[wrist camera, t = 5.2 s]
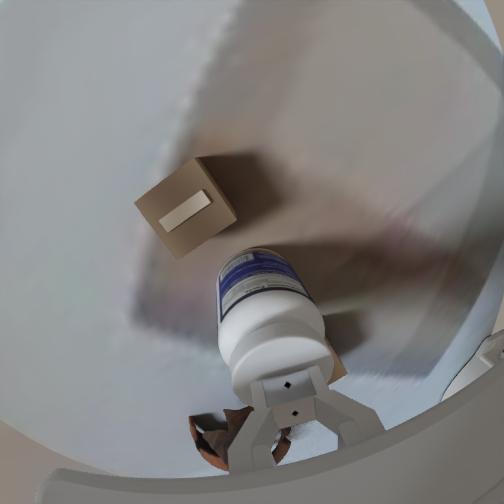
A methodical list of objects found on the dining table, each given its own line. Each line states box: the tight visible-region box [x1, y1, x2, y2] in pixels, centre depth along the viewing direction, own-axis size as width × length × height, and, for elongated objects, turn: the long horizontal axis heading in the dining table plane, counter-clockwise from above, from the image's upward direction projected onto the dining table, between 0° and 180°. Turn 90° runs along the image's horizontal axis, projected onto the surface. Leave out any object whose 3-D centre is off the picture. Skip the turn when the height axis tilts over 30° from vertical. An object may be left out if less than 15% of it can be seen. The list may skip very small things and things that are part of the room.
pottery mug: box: [189, 406, 291, 471], centre depth 24 cm, size 12×10×8 cm
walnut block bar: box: [134, 157, 237, 260], centre depth 16 cm, size 4×4×4 cm
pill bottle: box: [216, 248, 334, 407], centre depth 16 cm, size 6×6×10 cm
